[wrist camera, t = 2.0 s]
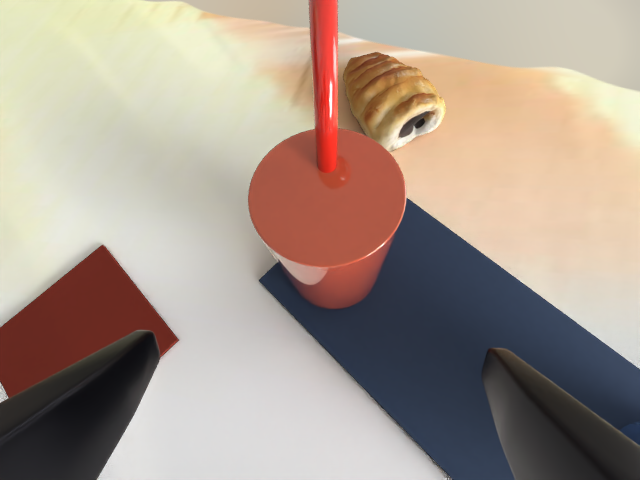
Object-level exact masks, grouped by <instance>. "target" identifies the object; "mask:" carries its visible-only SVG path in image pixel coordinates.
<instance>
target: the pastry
mask: <svg viewBox="0 0 640 480" xmlns="http://www.w3.org/2000/svg"><path fill="white" fill-rule="evenodd" d="M343 80H344V82H345V87H346V96H347V98H348V100H349V102H350V106H351V112H352V113H353V115H354V116H355V117H356V118H357V120H358V123H359V124H360V126H361V127H362V130H364V132H365V134H366V135H367V137H369V138H371V139H373V140H375V141H376V142H378V143H379V144H380V145H382V146H383V147H384V148H385V149H386V150H387V151H392V150H395V149H397V148H399V147H402V146H404V145H405V144H406V143H408V142H410V141H411V140H413V139H414V138H415V137H416V136H419V135H424V134H426V133H429V132H431V131H433V130H434V129H436V128H437V126H438V125H439V124H440V123H441V121H442V119H443V117H444V114H445V110H446V108H445V105H444V100H443V98H442V97H439V95H438V93H437V91H436V89H435V87H434V86H433V85H432V84H431V83H430V82H429V81H428V80H427V79H425V78H424V77H423V75H422V74H421V71H420V70H419V69H417V68H412V67H410V66H406V65H404V64H403V63H400V62H399V61H398V60H397V59H396V58H394V57H390V56H388V55H384V54H381V53H379V52H375V53H371V54H367V55H363V56H360V57H354V58H351V59H350V60H349V62H348V64H347V67H346V68H345V71H344V74H343Z"/></svg>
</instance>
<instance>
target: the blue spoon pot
mask: <svg viewBox="0 0 640 480" xmlns="http://www.w3.org/2000/svg"><path fill="white" fill-rule="evenodd" d="M619 431H620V432H622V433H623V434H624V435H626V436H627V437H628V438H630V439H631V440H632V441H634V442H635V443H637V444H638V445H639V446H640V422H636V423H632V424H629V425H627V426H625V427H623V428H622V429H621V430H619Z"/></svg>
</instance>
